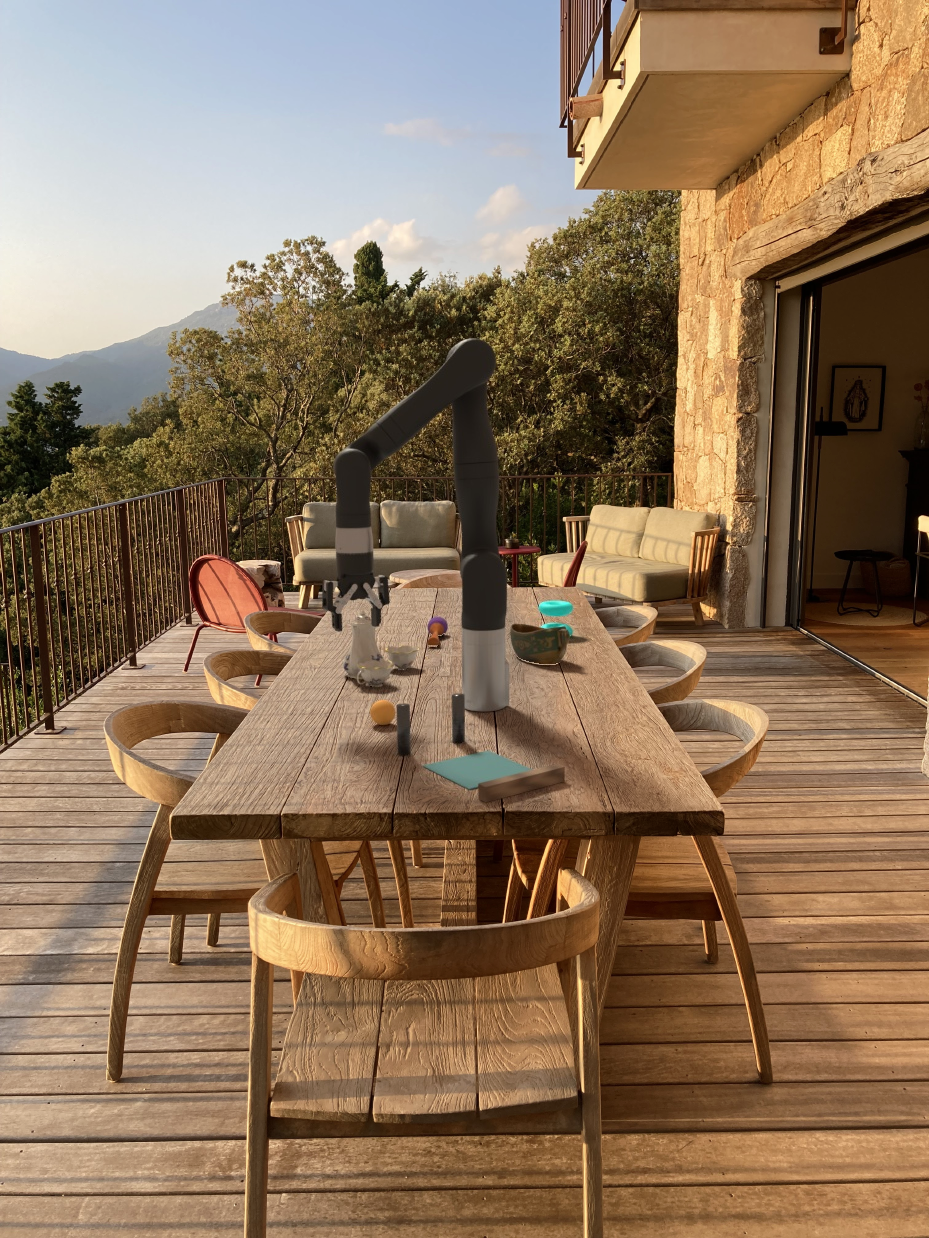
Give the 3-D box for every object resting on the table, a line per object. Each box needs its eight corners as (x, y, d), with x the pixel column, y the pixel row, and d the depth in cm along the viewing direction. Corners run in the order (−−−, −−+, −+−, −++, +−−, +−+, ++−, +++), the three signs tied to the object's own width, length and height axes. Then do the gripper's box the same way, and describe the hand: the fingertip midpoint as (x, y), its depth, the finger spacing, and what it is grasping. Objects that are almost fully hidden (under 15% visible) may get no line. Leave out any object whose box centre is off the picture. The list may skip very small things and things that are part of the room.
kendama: (420, 634, 259) (426, 616, 278) (425, 655, 260) (430, 635, 280) (441, 630, 258) (446, 612, 278) (446, 651, 260) (450, 631, 279)
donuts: (579, 603, 270) (549, 606, 265) (579, 638, 271) (549, 641, 267) (561, 599, 278) (532, 601, 274) (561, 632, 280) (532, 635, 276)
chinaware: (391, 699, 213) (396, 627, 210) (321, 688, 216) (326, 618, 213) (421, 670, 240) (427, 607, 237) (359, 661, 243) (364, 599, 240)
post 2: (460, 738, 178) (459, 692, 176) (467, 741, 176) (467, 695, 174) (449, 741, 176) (449, 694, 175) (456, 744, 174) (456, 697, 173)
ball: (387, 719, 191) (387, 695, 190) (400, 725, 187) (399, 701, 186) (366, 723, 188) (365, 699, 187) (378, 729, 184) (377, 705, 183)
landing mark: (488, 751, 170) (488, 750, 170) (536, 772, 159) (536, 771, 159) (422, 766, 162) (422, 765, 162) (469, 789, 151) (469, 788, 151)
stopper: (556, 777, 156) (556, 763, 156) (564, 781, 155) (564, 766, 154) (478, 798, 147) (478, 783, 147) (485, 802, 146) (485, 787, 145)
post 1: (406, 750, 171) (405, 702, 170) (413, 753, 169) (412, 705, 168) (395, 752, 170) (393, 704, 168) (401, 756, 168) (400, 707, 166)
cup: (521, 670, 232) (521, 630, 230) (507, 654, 251) (508, 617, 250) (572, 669, 233) (573, 629, 232) (555, 653, 253) (555, 616, 251)
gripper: (331, 553, 182) (334, 635, 185) (394, 548, 190) (396, 627, 193) (314, 550, 188) (317, 630, 191) (376, 545, 196) (378, 622, 199)
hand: (357, 628), depth 192 cm, fingers open, 8 cm apart
